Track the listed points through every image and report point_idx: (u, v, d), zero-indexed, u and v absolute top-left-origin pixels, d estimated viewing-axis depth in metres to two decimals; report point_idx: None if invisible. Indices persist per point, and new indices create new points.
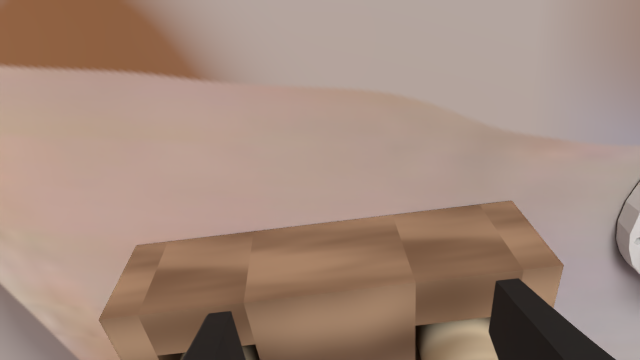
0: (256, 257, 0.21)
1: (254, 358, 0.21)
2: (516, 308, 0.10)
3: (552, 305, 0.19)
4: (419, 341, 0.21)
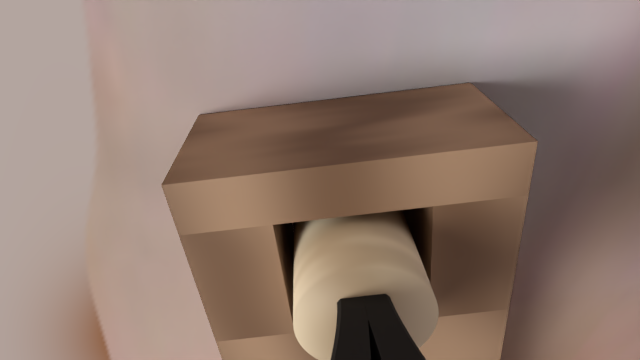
0: None
1: None
2: (369, 325, 0.10)
3: (251, 177, 0.11)
4: None
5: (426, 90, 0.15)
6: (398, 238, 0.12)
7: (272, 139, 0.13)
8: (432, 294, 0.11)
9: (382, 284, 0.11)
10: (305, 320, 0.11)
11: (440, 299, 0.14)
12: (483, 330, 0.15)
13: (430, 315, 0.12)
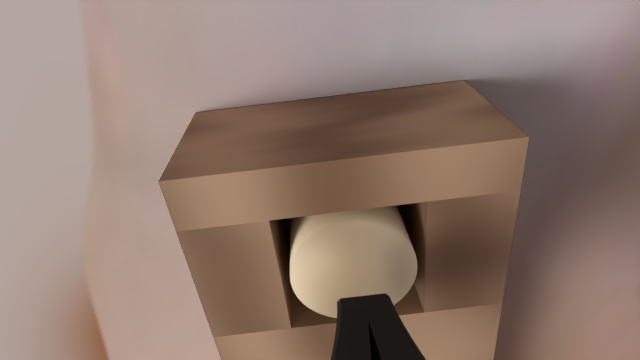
0: None
1: None
2: (369, 325, 0.10)
3: (247, 173, 0.11)
4: None
5: (420, 87, 0.15)
6: None
7: (268, 135, 0.13)
8: (411, 248, 0.13)
9: (367, 238, 0.13)
10: (300, 272, 0.13)
11: (435, 294, 0.14)
12: (477, 325, 0.15)
13: (410, 268, 0.13)
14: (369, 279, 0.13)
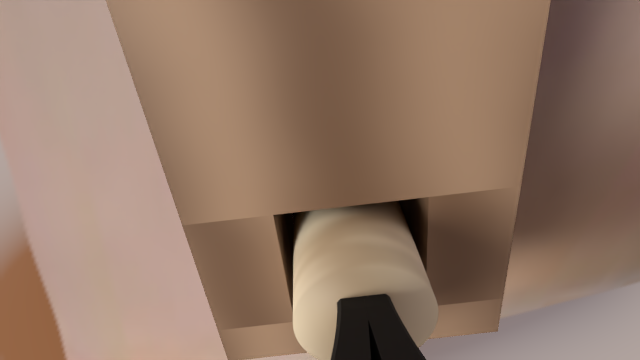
0: None
1: None
2: (369, 325, 0.10)
3: None
4: None
5: None
6: None
7: None
8: None
9: None
10: None
11: None
12: None
13: None
14: None
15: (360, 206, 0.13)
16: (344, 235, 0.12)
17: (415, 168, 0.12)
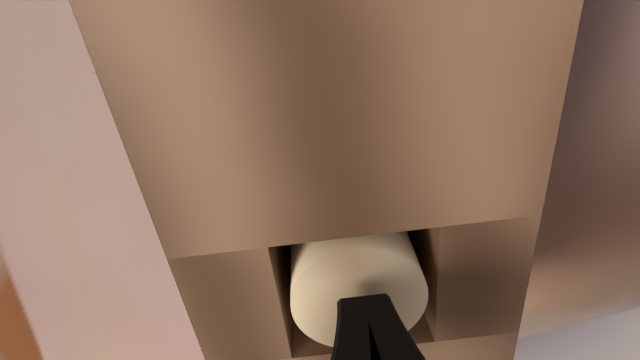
0: None
1: None
2: (369, 325, 0.10)
3: None
4: None
5: None
6: None
7: None
8: None
9: None
10: None
11: None
12: None
13: None
14: None
15: None
16: None
17: (425, 196, 0.11)
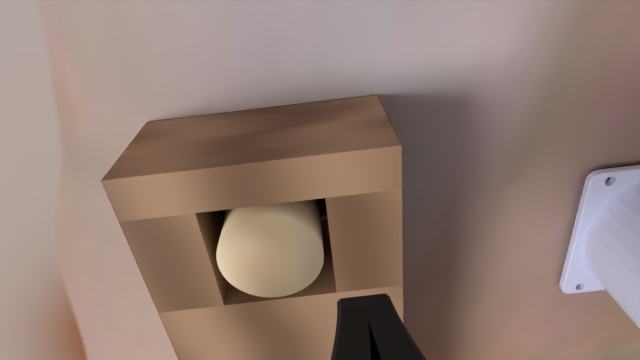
0: None
1: None
2: (369, 325, 0.10)
3: (173, 174, 0.14)
4: None
5: (338, 101, 0.18)
6: None
7: (199, 143, 0.16)
8: (316, 236, 0.15)
9: (278, 228, 0.15)
10: (225, 256, 0.16)
11: (343, 276, 0.17)
12: None
13: (317, 253, 0.16)
14: (284, 263, 0.16)
15: None
16: None
17: None
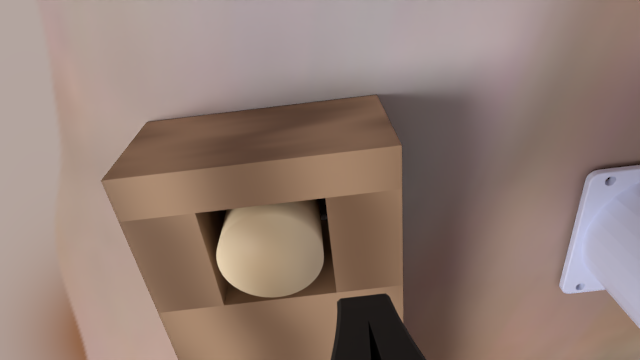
0: None
1: None
2: (369, 325, 0.10)
3: (173, 174, 0.14)
4: None
5: (338, 101, 0.18)
6: None
7: (199, 143, 0.16)
8: (316, 236, 0.15)
9: (278, 228, 0.15)
10: (225, 256, 0.16)
11: (343, 276, 0.17)
12: None
13: (317, 253, 0.16)
14: (284, 263, 0.16)
15: None
16: None
17: None
